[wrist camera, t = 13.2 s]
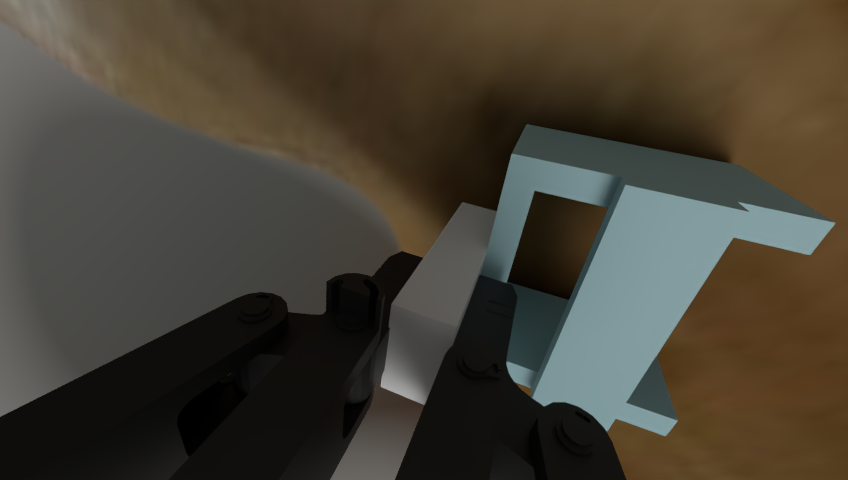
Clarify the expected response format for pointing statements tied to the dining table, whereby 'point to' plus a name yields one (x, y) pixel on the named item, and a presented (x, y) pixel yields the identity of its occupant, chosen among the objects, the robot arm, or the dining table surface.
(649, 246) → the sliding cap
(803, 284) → the dining table surface
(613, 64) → the dining table surface
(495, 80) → the dining table surface
